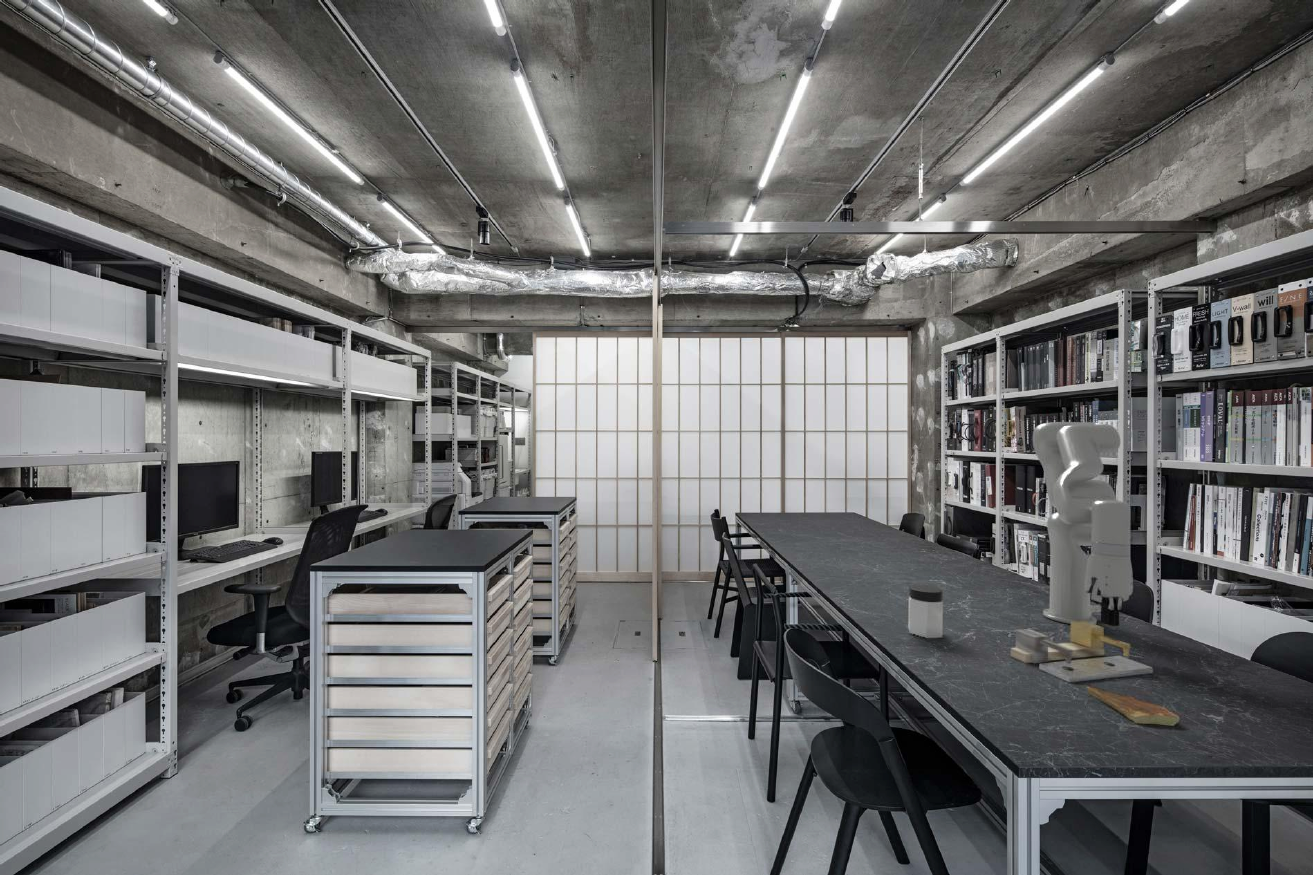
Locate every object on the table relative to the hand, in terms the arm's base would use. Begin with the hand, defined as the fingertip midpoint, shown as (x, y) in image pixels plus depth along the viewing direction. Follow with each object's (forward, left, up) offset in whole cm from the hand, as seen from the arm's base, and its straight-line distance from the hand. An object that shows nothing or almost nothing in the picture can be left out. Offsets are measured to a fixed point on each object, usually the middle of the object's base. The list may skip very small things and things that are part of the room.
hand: (1109, 624), depth 137 cm
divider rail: (+16, +3, -7) cm, 17 cm away
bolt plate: (+16, +8, -7) cm, 19 cm away
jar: (+37, -21, -7) cm, 43 cm away
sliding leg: (+7, +3, -5) cm, 9 cm away
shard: (+29, +24, -8) cm, 39 cm away
